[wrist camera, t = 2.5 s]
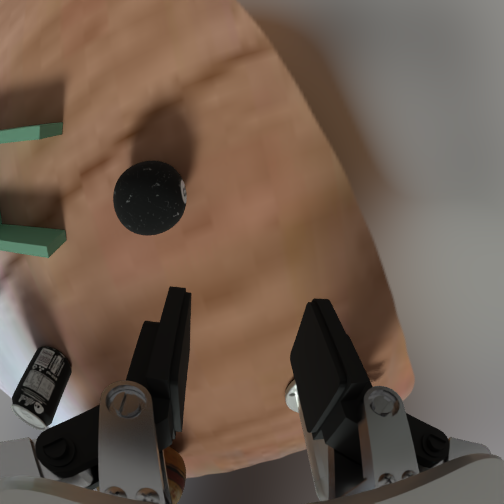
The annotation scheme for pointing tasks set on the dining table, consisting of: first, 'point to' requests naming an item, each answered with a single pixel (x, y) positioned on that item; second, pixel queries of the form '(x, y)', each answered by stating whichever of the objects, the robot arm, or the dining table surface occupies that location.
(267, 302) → the dining table surface
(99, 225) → the dining table surface
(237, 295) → the dining table surface
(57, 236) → the pocket
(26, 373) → the beverage can
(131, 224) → the billiard ball
